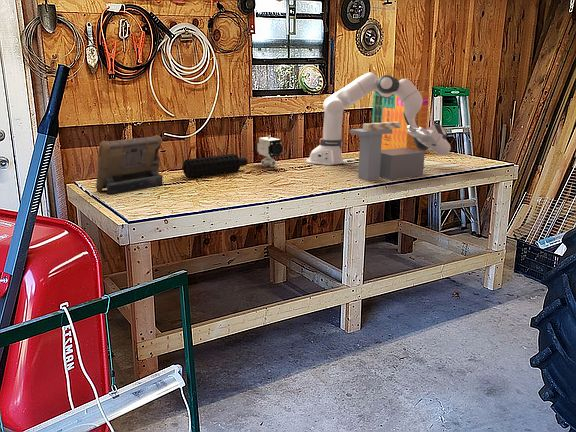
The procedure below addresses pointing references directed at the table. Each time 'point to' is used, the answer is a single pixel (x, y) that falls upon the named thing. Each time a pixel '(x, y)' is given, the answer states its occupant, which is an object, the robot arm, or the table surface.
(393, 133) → the orange green grid box
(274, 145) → the white security camera
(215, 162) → the roller
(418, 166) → the block
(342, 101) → the robot arm
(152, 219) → the table surface
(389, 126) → the bar
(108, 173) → the tablet
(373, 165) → the stand
